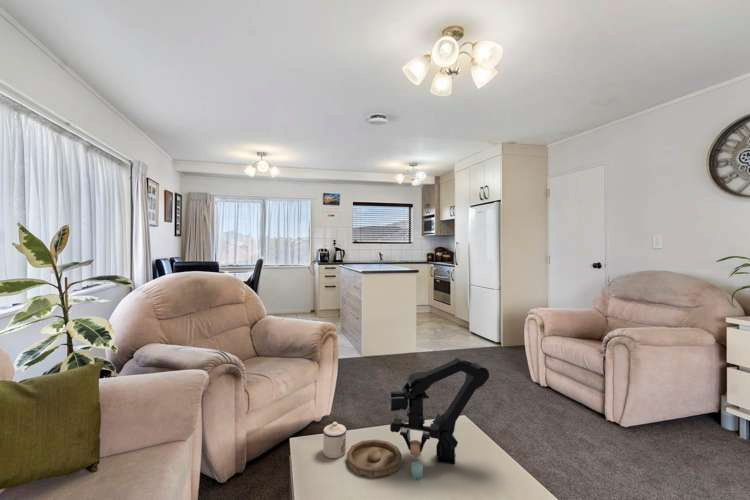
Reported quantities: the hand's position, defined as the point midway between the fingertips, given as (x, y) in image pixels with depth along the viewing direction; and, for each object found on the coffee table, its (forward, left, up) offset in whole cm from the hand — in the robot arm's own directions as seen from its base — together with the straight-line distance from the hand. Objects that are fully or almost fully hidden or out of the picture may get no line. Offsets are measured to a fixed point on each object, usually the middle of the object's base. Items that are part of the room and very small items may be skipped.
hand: (415, 450), depth 133 cm
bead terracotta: (0, 0, -1) cm, 1 cm away
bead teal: (-2, +9, -4) cm, 10 cm away
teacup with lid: (+32, +3, -4) cm, 32 cm away
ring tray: (+15, +5, -4) cm, 16 cm away
